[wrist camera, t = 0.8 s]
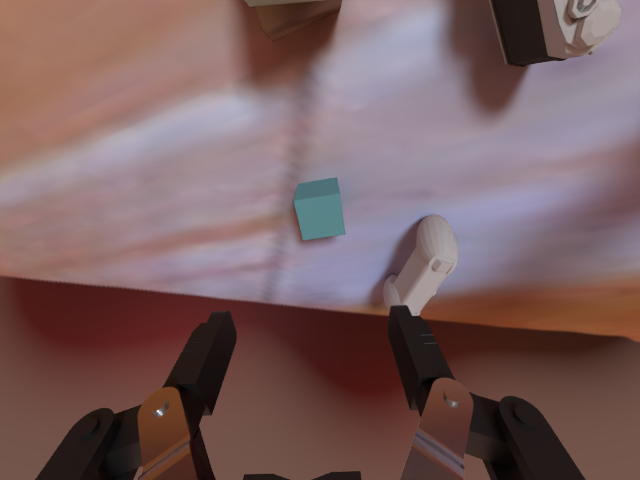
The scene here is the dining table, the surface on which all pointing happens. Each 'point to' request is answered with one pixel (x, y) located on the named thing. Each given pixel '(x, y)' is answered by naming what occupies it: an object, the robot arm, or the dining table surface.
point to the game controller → (424, 266)
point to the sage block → (274, 2)
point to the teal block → (319, 209)
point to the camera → (552, 28)
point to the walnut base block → (293, 16)
